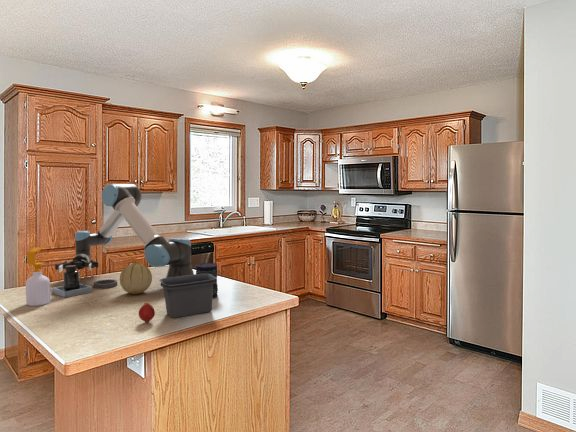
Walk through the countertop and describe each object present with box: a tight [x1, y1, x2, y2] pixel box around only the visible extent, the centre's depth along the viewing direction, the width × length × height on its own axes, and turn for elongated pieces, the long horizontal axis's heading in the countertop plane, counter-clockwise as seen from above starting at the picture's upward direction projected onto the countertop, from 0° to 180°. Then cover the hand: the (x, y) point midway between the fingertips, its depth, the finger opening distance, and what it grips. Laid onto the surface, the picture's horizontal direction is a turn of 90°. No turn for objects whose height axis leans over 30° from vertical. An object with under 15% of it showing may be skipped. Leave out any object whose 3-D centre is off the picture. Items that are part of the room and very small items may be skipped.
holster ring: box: [93, 279, 118, 289], centre depth 217 cm, size 11×11×2 cm
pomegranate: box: [138, 301, 156, 323], centre depth 160 cm, size 6×6×8 cm
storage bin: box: [159, 273, 216, 319], centre depth 173 cm, size 21×16×14 cm
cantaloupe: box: [119, 261, 153, 295], centre depth 202 cm, size 15×15×15 cm
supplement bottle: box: [62, 265, 80, 291], centre depth 204 cm, size 7×7×12 cm
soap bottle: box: [25, 246, 51, 307], centre depth 185 cm, size 9×9×25 cm
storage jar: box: [195, 262, 219, 300], centre depth 197 cm, size 10×10×15 cm
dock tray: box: [51, 283, 93, 298], centre depth 204 cm, size 13×13×2 cm
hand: (74, 268), depth 212 cm, fingers open, 13 cm apart
